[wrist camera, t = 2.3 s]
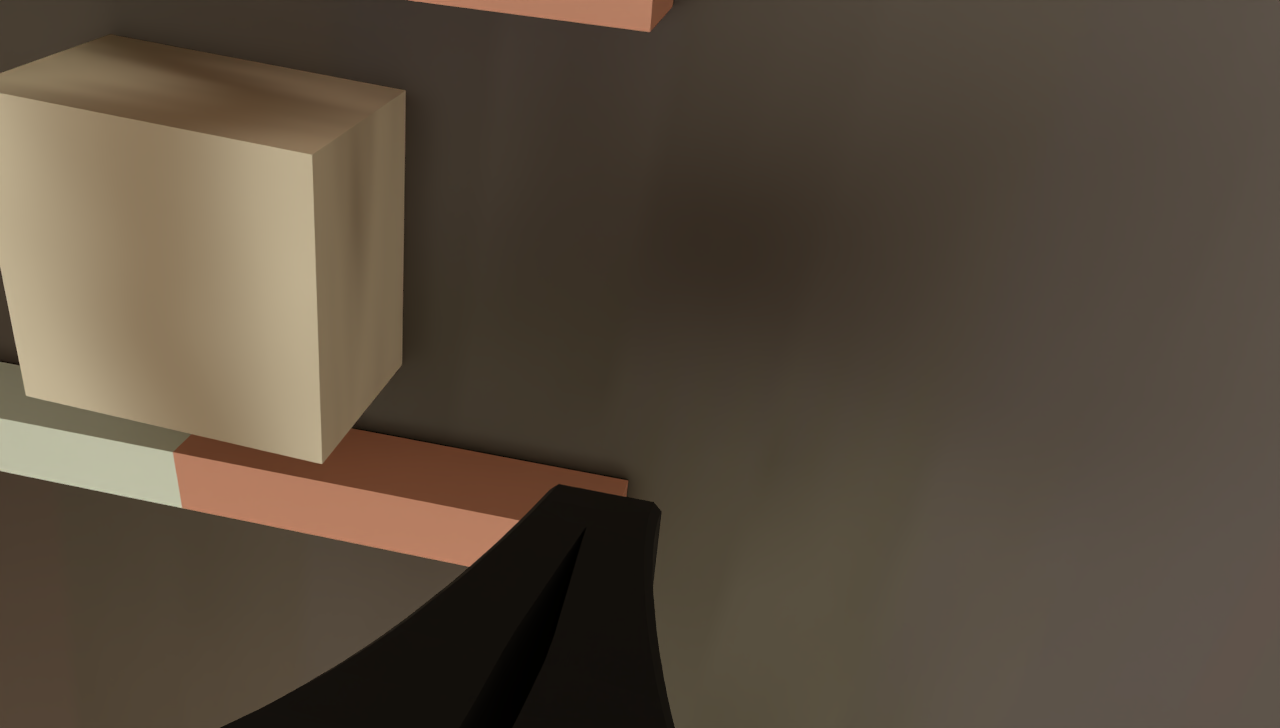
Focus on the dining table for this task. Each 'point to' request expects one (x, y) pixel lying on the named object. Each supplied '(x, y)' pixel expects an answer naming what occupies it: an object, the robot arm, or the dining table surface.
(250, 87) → the maple block
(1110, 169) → the dining table surface
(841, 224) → the dining table surface
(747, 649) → the dining table surface
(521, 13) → the pink-beige flat slab
